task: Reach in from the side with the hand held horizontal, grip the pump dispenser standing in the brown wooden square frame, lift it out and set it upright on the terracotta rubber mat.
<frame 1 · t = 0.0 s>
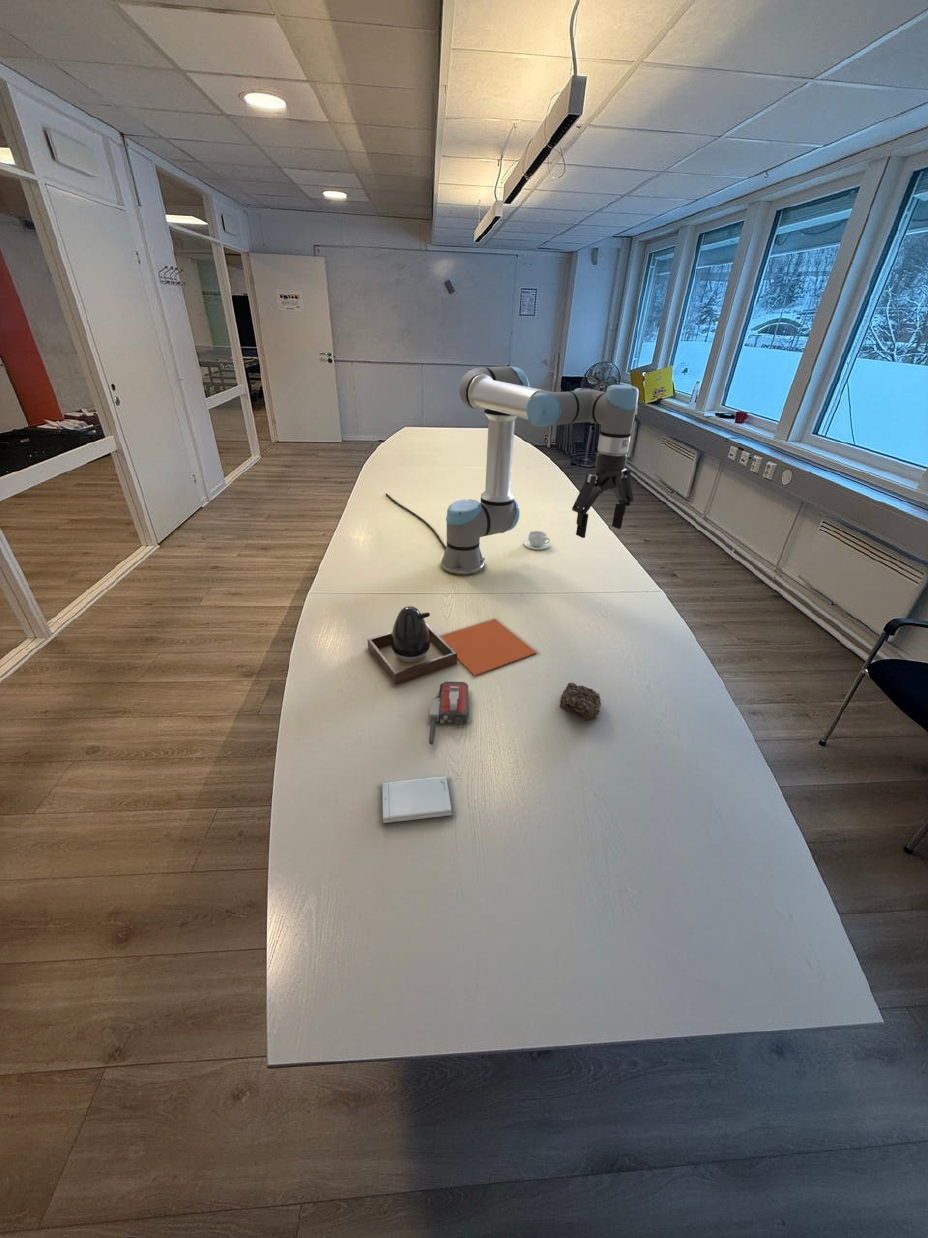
hand: (598, 531, 138), 28 cm above the table, tool pointing down, fingers open, 13 cm apart
mat: (485, 645, 139), on the table
pump dispenser: (411, 657, 133), resting in brown wooden square frame
teacup: (536, 545, 200), on the table
brown wooden square frame: (411, 656, 133), on the table
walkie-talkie: (449, 717, 114), on the table
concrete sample: (579, 708, 118), on the table
hard drive: (416, 802, 94), on the table
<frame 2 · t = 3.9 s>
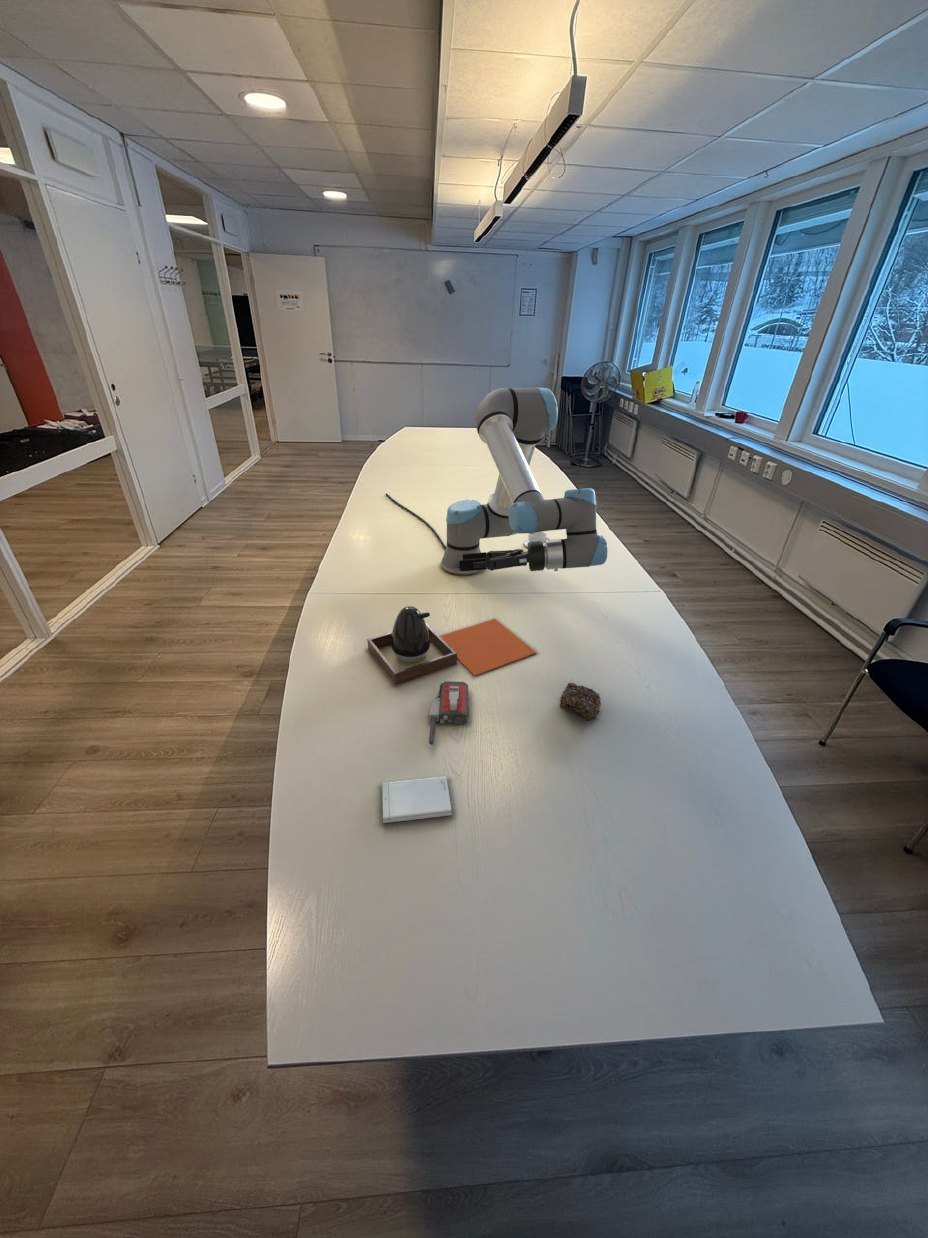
hand: (461, 562, 129), 24 cm above the table, tool horizontal, fingers open, 13 cm apart
nothing on the table moved.
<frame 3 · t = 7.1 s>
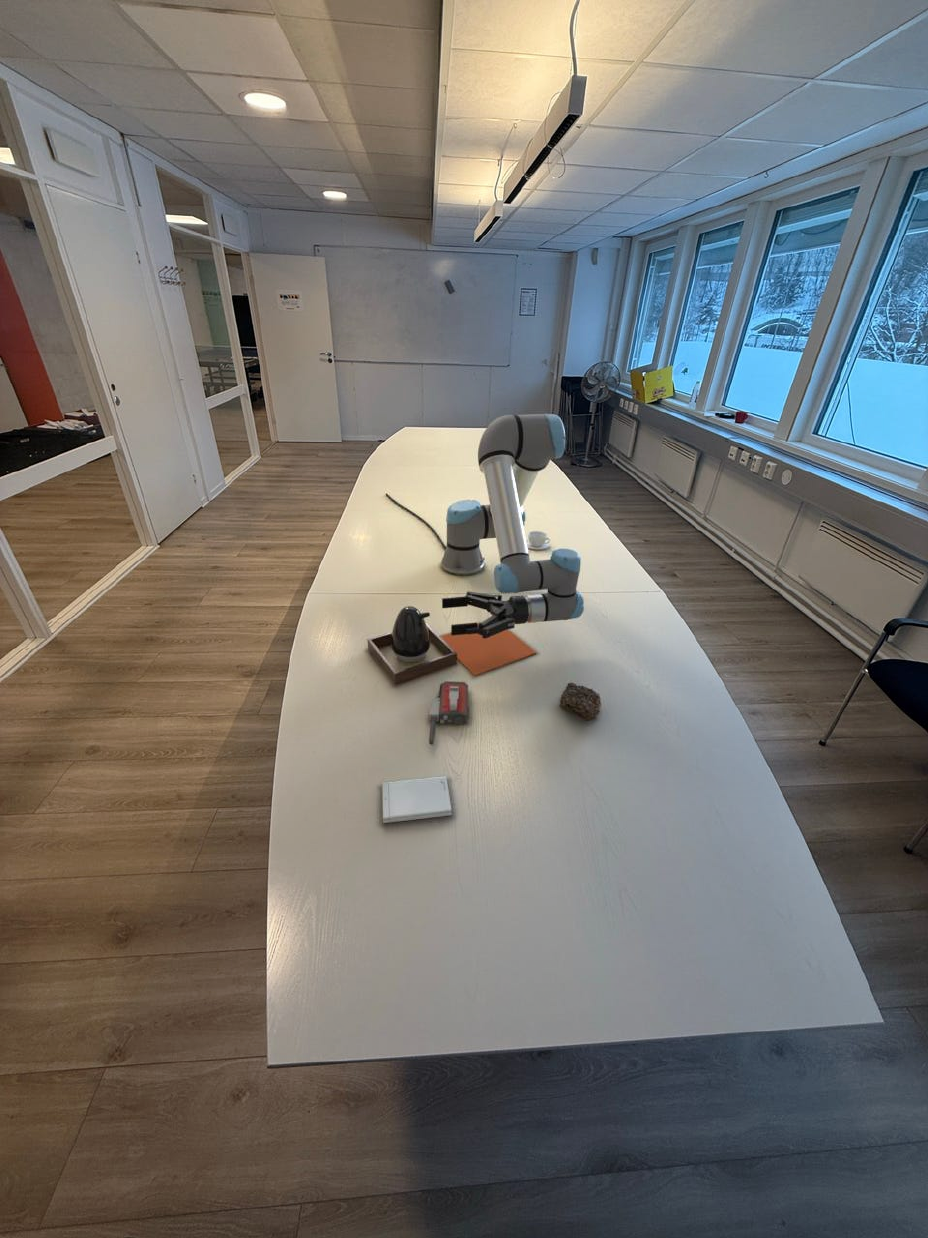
hand: (446, 616, 129), 12 cm above the table, tool horizontal, fingers open, 13 cm apart
nothing on the table moved.
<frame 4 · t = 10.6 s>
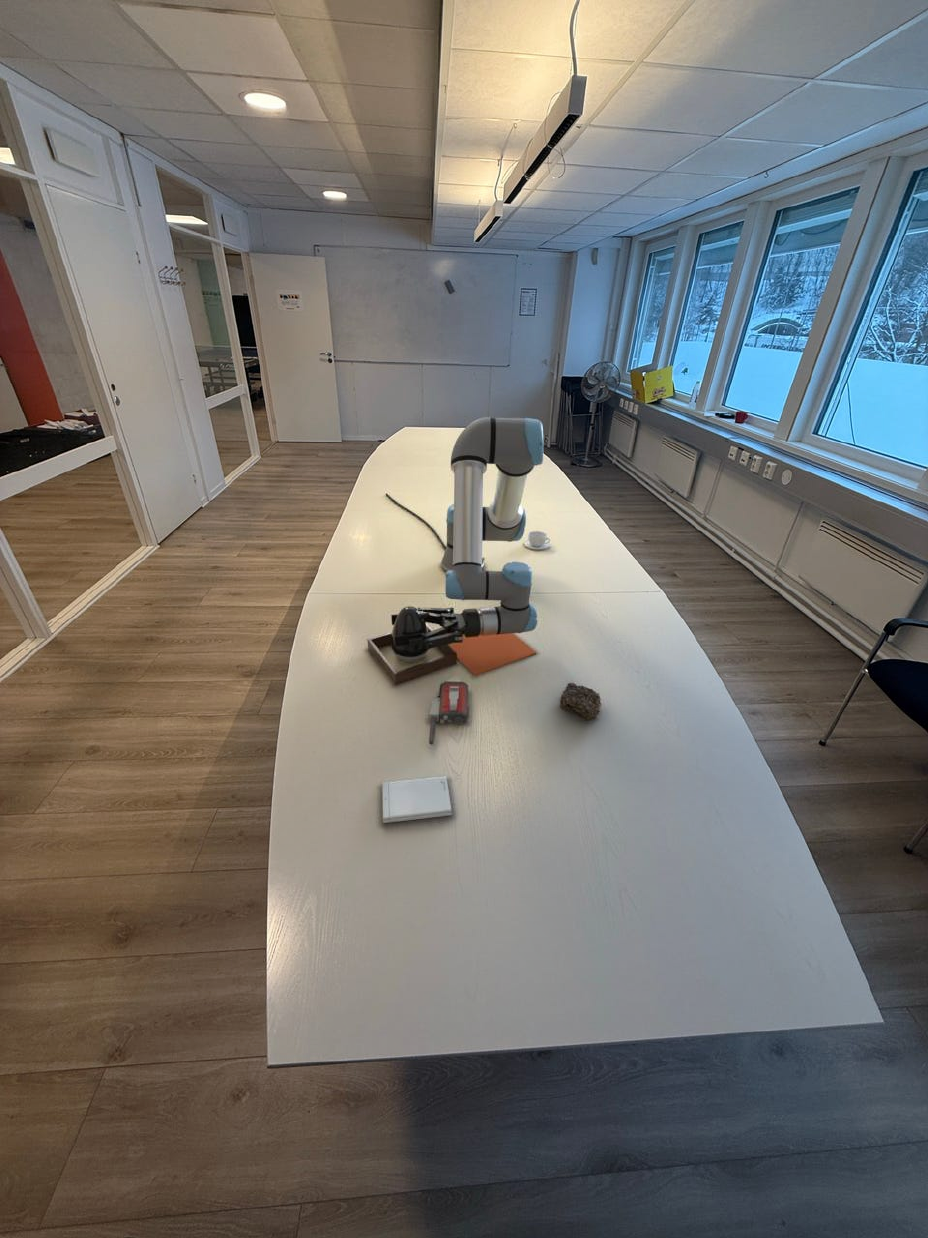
hand: (393, 630, 128), 9 cm above the table, tool horizontal, fingers closed on pump dispenser, 9 cm apart
pump dispenser: (411, 657, 133), resting in brown wooden square frame, touching gripper
everything else where it was.
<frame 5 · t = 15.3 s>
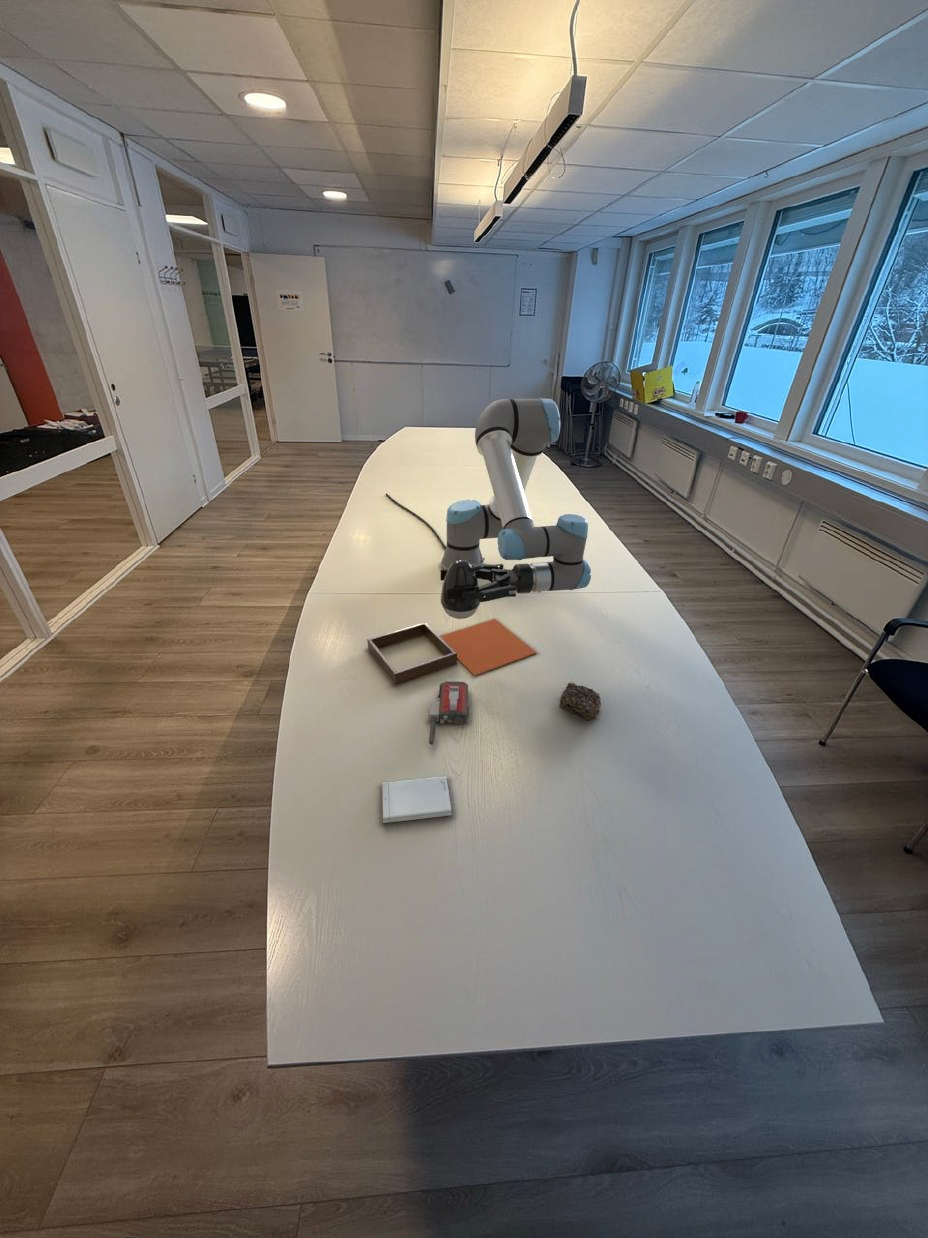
hand: (443, 584, 124), 21 cm above the table, tool horizontal, fingers closed on pump dispenser, 9 cm apart
pump dispenser: (460, 614, 130), point 12 cm above the table, touching gripper
everything else where it was.
when the fingers open (9 cm above the table, at t = 20.0 s): pump dispenser stays where it is, resting on mat.
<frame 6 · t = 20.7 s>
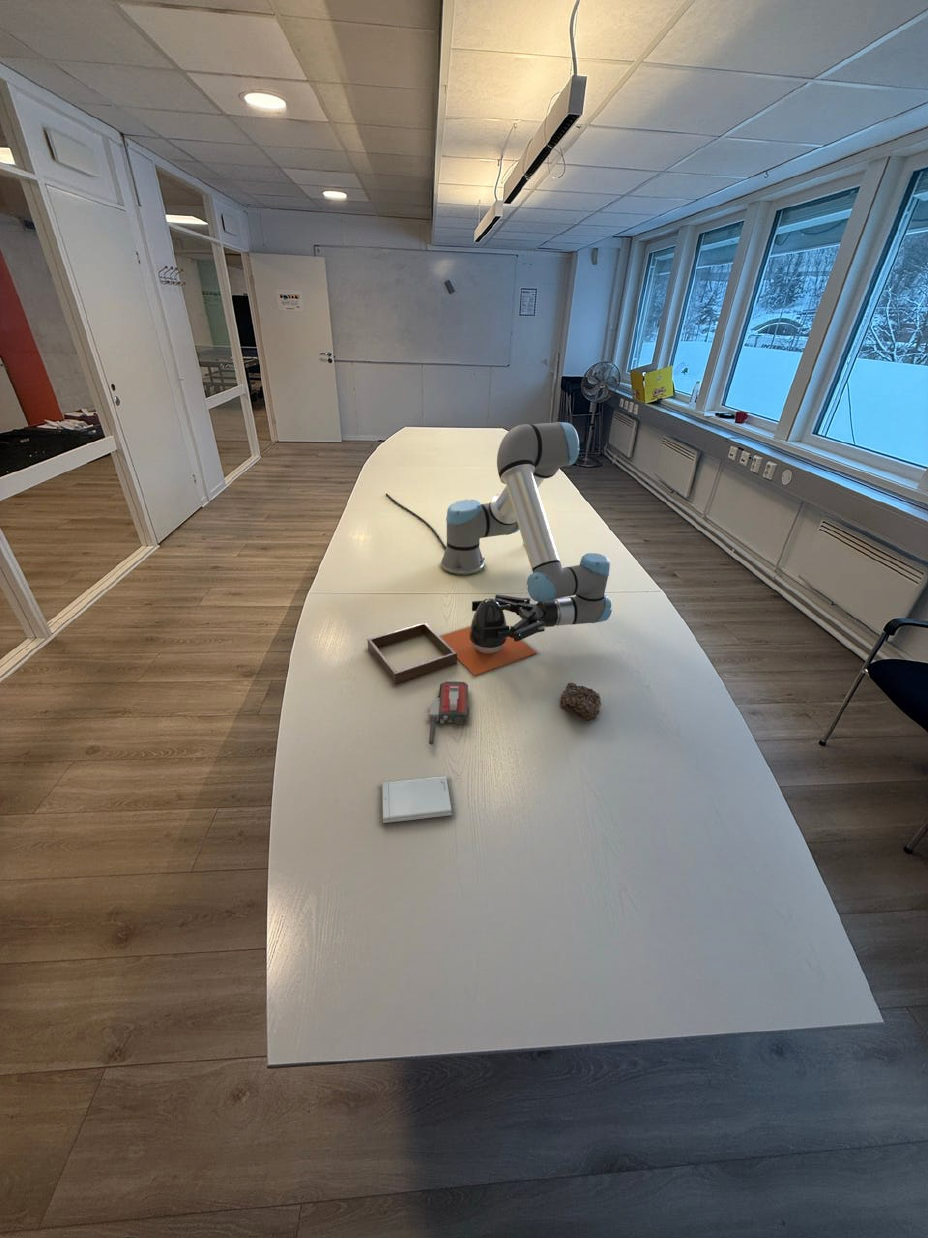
hand: (477, 619, 131), 10 cm above the table, tool horizontal, fingers open, 13 cm apart
pump dispenser: (487, 648, 137), resting on mat
everything else where it was.
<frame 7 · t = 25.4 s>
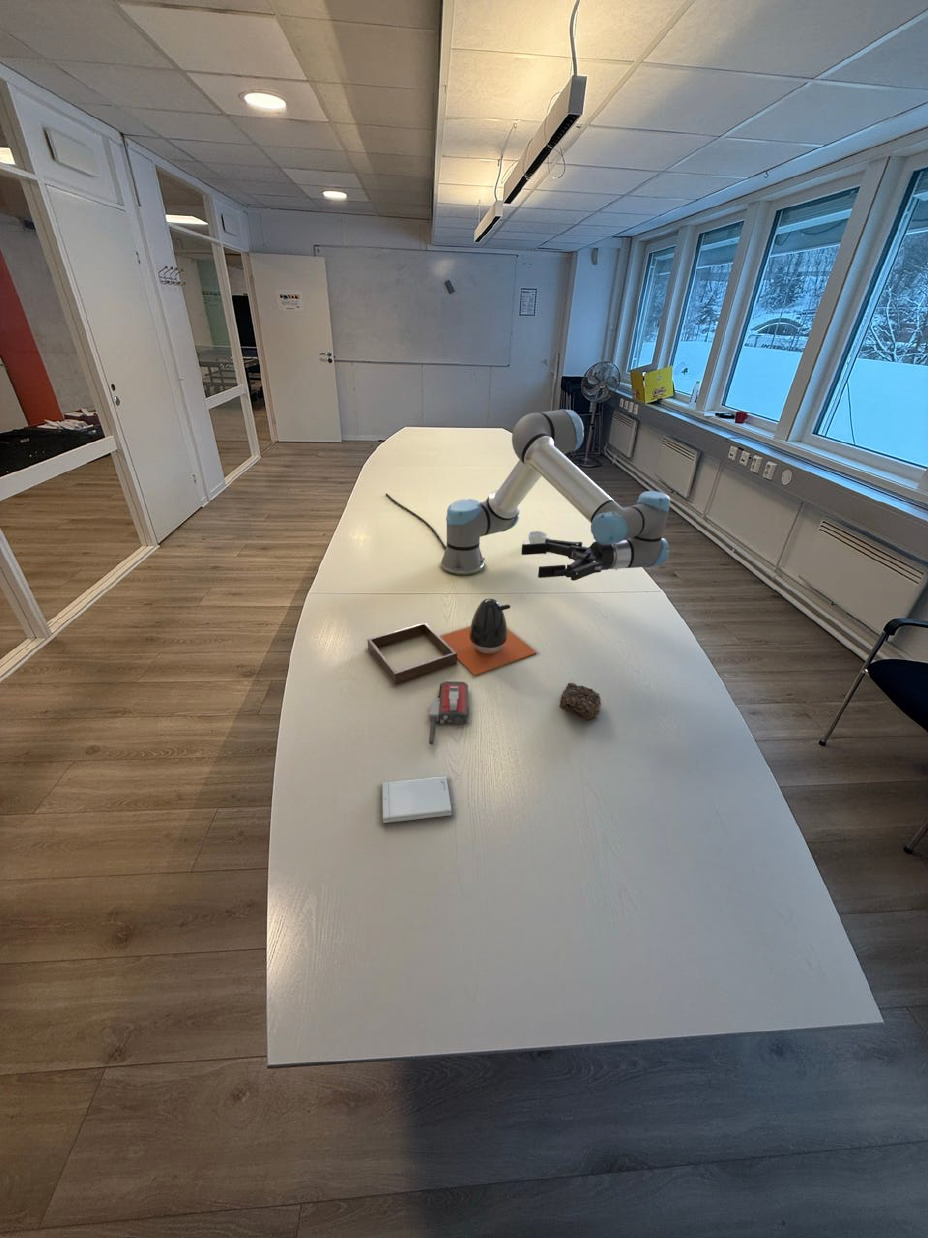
hand: (530, 560, 125), 26 cm above the table, tool horizontal, fingers open, 13 cm apart
nothing on the table moved.
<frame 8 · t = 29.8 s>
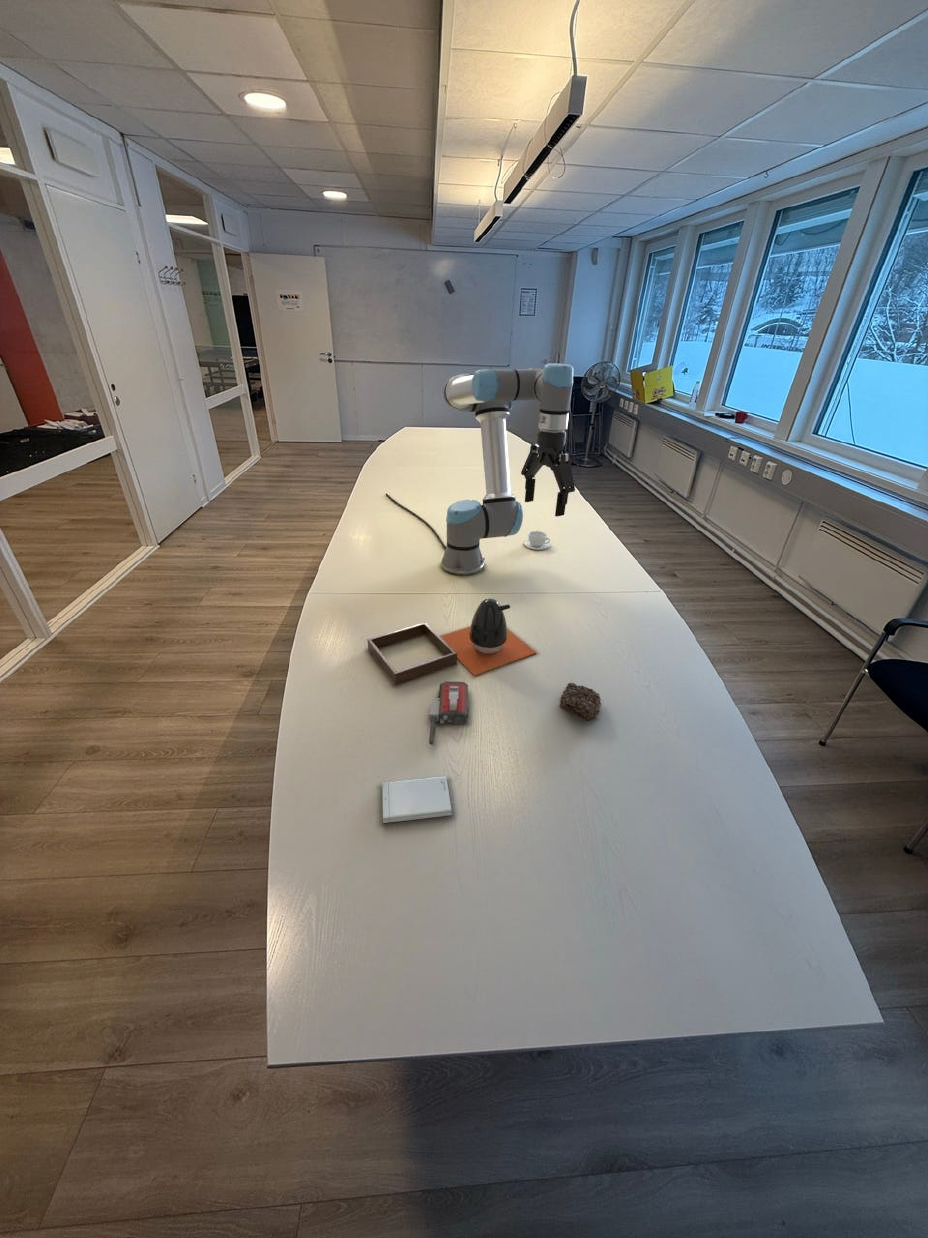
hand: (543, 508, 142), 32 cm above the table, tool pointing down, fingers open, 13 cm apart
nothing on the table moved.
at the end: pump dispenser inside the target area on the mat (1.7 cm from its centre), point 0.2 cm above the mat's base; pump dispenser tilted 0°; the gripper is holding nothing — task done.
